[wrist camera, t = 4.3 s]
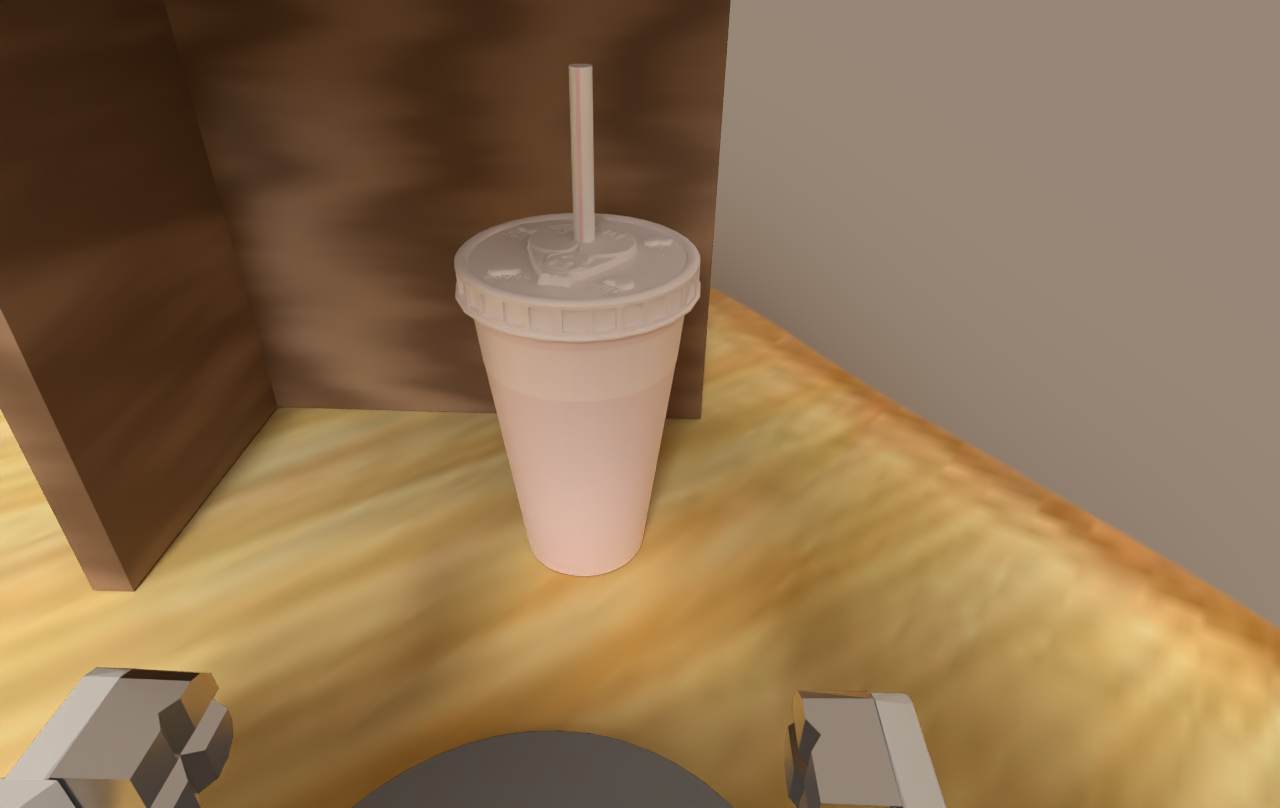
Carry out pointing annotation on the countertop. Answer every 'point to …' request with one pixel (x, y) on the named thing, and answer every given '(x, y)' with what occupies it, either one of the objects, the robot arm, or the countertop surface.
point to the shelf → (300, 217)
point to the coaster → (545, 776)
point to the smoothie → (580, 358)
